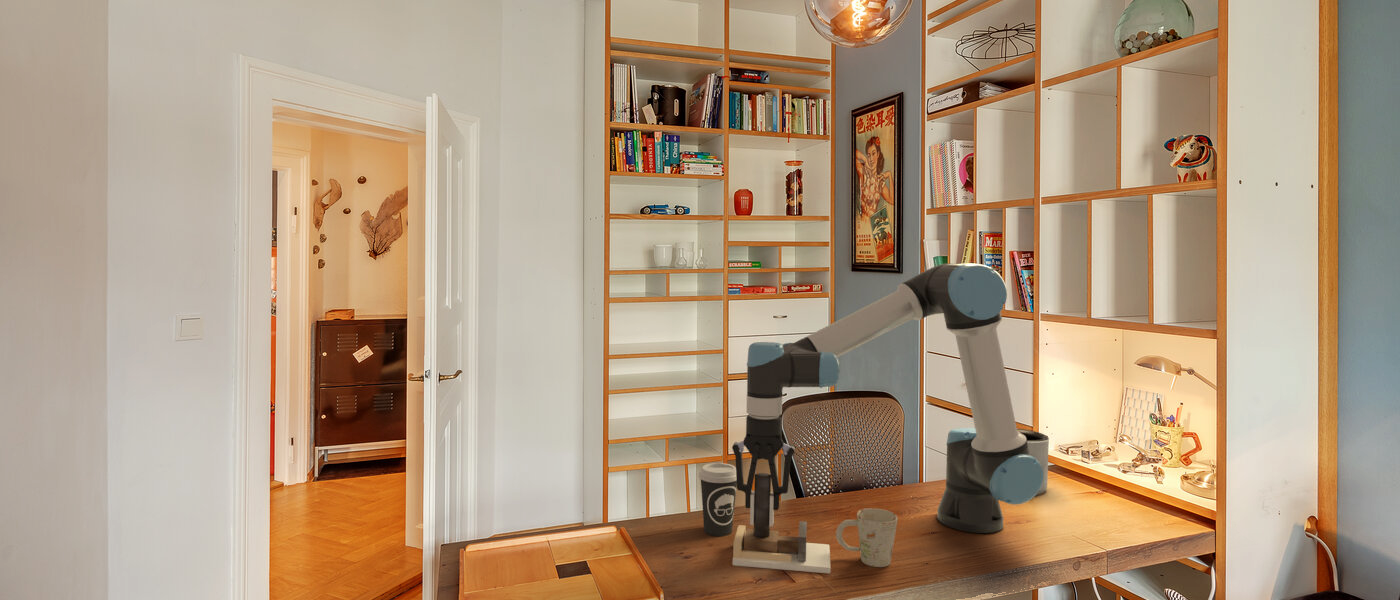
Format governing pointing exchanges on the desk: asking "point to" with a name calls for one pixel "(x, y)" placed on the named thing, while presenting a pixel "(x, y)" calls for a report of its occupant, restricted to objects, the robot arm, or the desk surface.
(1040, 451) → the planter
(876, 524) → the mug
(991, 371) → the robot arm
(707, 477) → the coffee cup
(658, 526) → the desk surface
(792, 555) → the white slotted peg base
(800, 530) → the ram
